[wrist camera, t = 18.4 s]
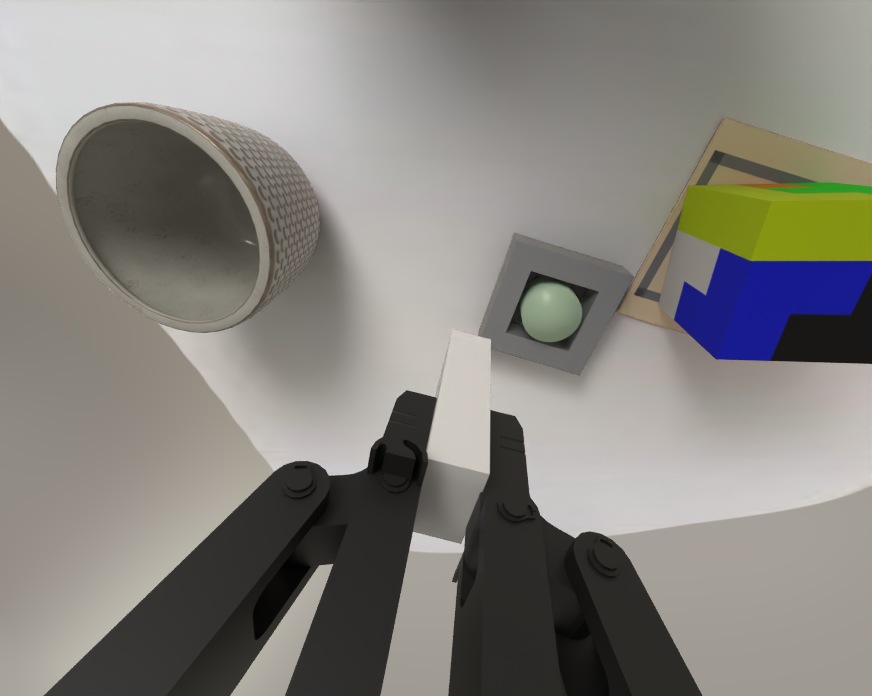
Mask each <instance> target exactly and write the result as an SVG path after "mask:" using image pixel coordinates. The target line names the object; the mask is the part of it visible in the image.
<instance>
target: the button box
mask: <svg viewBox="0 0 872 696" xmlns="http://www.w3.org/2000/svg"><path fill="white" fill-rule="evenodd" d="M531 271H533V272H536V273H539V274H543V275H546V276H549V277H552V278H556V279H559V280H562V281H565V282H569V283H572V284H575V285H579V286H582V287H585V288H587V290H586V292H585V294H584V296H583V298H582V300H581V302H580V304H581V307H582V319H581V322H580V324H579V326H578V328H577V329H576V330H575V331H574V332H573V333H572V334H571V335H570V336H568V337H567V338H565V339H563V340H560V341H556V342H543V341H539V340H537V339H535V338H533V337H532V336H530V335H529V334H528V333H527V331H526V330H525V328H524V326H523V325H521V324H517V323H514V322H511V319H512V316H513V314H514V311H515V309H516V306H517V304H518V301H519V299H520V297H521V294H522V292H523V289H524V287H525V284H526V282H527V279H528V277H529V274H530V272H531ZM633 278H634V276H633V275H632V274H631V273H629V272H628V271H627V270H626V269H625V268H624V267H623V266H619V265H616V264H613V263H610V262H606V261H603V260H600V259H597V258H593V257H590V256H587V255H584V254H580V253H577V252H574V251H571V250H567V249H564V248H561V247H558V246H554V245H551V244H548V243H545V242H541V241H538V240H535V239H532V238H528V237H525V236H522V235H518V234H515V233H514V236H513V239H512V242H511V244H510V247H509V250H508V252H507V255H506V258H505V261H504V263H503V266H502V269H501V272H500V274H499V277H498V280H497V283H496V285H495V288H494V291H493V293H492V296H491V299H490V302H489V304H488V307H487V310H486V313H485V315H484V318H483V321H482V324H481V326H480V329H479V334H478V336H479V337H483V338H487V339H491V349H493V350H497V351H500V352H503V353H506V354H510V355H513V356H516V357H520V358H523V359H526V360H530V361H533V362H536V363H540V364H543V365H546V366H550V367H553V368H556V369H560V370H563V371H566V372H570V373H573V374H576V375H580V374H581V372H582V371H583V369H584V367H585V365H586V363H587V361H588V360H589V358H590V356H591V354H592V352H593V350H594V349H595V347H596V345H597V343H598V341H599V340H600V338H601V336H602V334H603V332H604V330H605V329H606V327H607V325H608V323H609V321H610V320H611V318H612V316H613V314H614V312H615V310H616V309H617V307H618V305H619V303H620V301H621V299H622V298H623V296H624V294H625V292H626V290H627V289H628V287H629V285H630V283H631V281H632V279H633Z"/></svg>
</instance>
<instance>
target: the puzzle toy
mask: <svg viewBox="0 0 872 696" xmlns="http://www.w3.org/2000/svg"><path fill="white" fill-rule="evenodd" d="M658 306H659V307H660V308H661V309H662V310H664V311H665V312H666V313H667V314H668V315H669V316H670V317H671V318H672V319H673V320H674V321H675V322H677V323H678V324H679V325H680V326H681V327H682V328H683V329H684V330H685V331H686V332H687V333H688V334H689V335H691V336H692V337H693V338H694V339H695V340H696V341H697V342H698V343H699V344H700V345H701V346H702V347H703V348H705V349H706V350H707V351H708V352H709V353H710V354H711V355H712V356H713V357H714V358H715V359H726V360H760V361H795V362H829V363H863V364H872V186H863V185H853V184H843V183H833V182H824V183H781V184H738V185H694V186H688V189H687V193H686V197H685V201H684V205H683V209H682V212H681V216H680V220H679V224H678V228H677V232H676V236H675V240H674V244H673V248H672V252H671V256H670V260H669V264H668V268H667V272H666V276H665V280H664V284H663V288H662V292H661V296H660V300H659V303H658Z"/></svg>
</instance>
